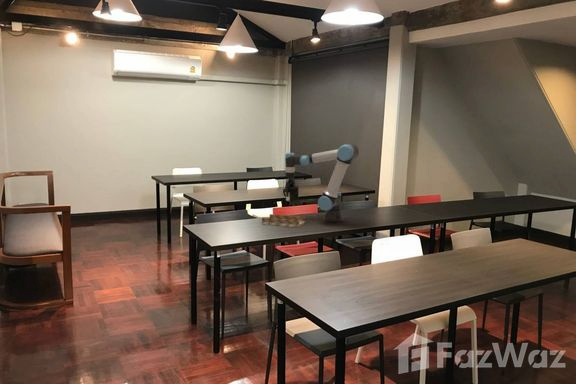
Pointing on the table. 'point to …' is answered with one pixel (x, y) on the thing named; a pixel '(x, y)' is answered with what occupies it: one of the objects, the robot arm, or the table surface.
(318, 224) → the table surface
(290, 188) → the mug
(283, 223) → the brown lumpy flat block
